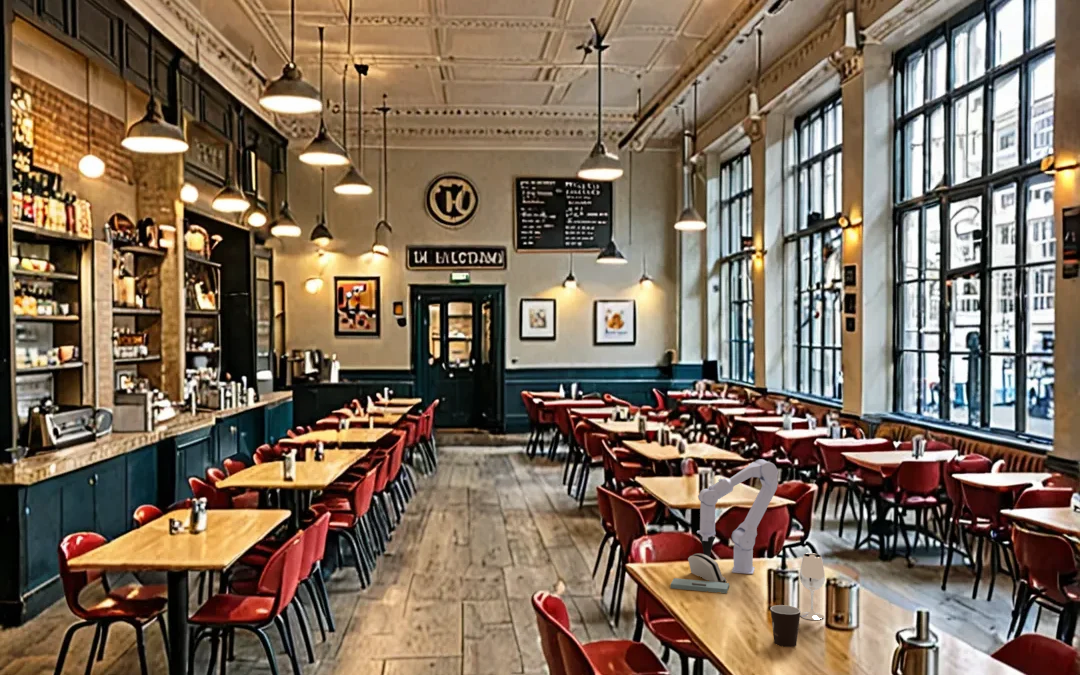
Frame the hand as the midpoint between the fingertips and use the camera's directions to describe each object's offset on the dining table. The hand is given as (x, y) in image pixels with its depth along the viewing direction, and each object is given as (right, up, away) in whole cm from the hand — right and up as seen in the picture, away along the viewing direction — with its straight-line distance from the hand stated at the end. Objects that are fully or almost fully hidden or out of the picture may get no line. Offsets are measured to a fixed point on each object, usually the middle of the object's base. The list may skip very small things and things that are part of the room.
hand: (707, 555), depth 336 cm
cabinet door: (-7, -6, -21) cm, 23 cm away
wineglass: (+24, -7, -53) cm, 58 cm away
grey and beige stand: (-2, -7, -8) cm, 11 cm away
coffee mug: (+9, -7, -76) cm, 77 cm away
